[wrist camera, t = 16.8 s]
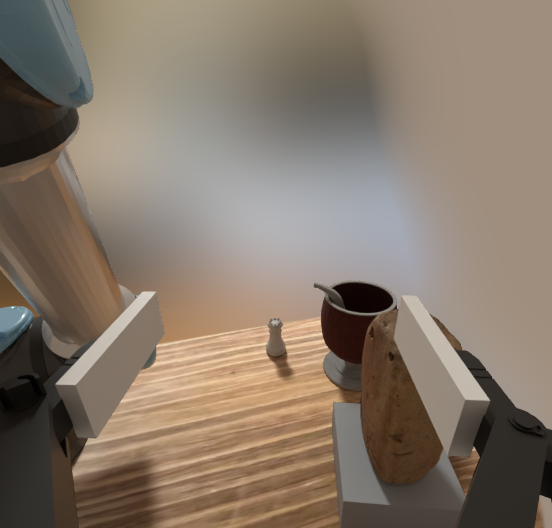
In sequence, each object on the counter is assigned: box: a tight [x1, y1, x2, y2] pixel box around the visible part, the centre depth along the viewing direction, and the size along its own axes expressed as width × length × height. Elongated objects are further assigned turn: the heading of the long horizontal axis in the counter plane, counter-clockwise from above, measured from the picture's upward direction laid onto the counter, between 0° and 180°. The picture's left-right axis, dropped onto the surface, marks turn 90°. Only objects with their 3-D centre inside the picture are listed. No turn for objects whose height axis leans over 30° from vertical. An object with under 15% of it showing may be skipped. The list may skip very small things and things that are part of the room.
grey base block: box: [332, 402, 466, 528], centre depth 42 cm, size 14×14×6 cm
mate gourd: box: [314, 281, 397, 392], centre depth 59 cm, size 16×14×20 cm
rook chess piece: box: [266, 318, 286, 357], centre depth 67 cm, size 4×4×8 cm
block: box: [360, 309, 462, 484], centre depth 37 cm, size 11×8×20 cm
